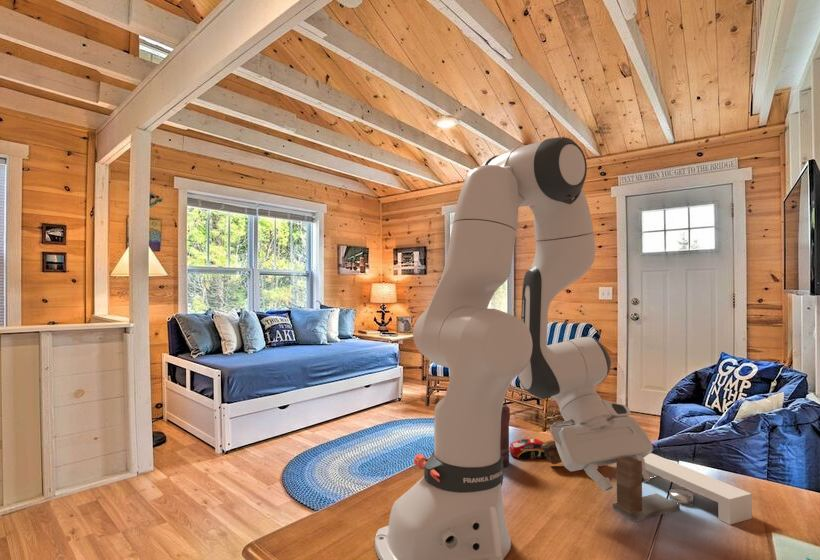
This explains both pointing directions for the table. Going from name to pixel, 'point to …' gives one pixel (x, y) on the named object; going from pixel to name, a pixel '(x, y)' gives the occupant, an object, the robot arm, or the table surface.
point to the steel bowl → (681, 496)
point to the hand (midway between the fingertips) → (627, 485)
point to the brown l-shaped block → (637, 493)
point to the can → (505, 434)
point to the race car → (527, 449)
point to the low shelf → (704, 488)
